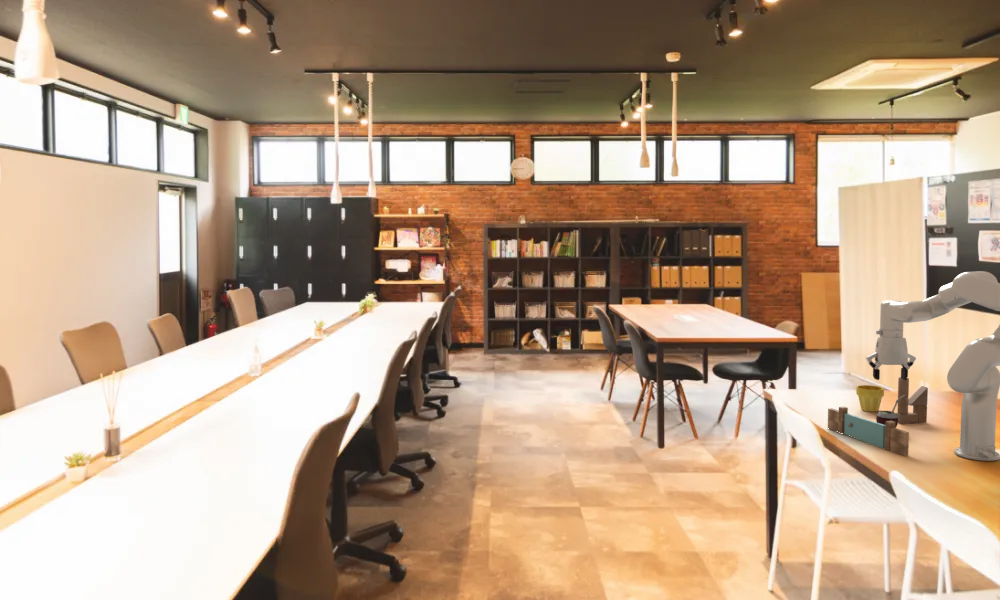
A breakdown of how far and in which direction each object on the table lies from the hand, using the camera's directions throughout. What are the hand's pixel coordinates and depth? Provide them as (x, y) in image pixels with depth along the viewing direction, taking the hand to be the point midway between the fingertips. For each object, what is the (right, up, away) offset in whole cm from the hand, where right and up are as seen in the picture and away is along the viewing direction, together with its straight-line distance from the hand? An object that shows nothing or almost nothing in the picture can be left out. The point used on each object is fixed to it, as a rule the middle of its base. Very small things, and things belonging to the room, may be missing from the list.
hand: (890, 379), depth 256 cm
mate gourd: (0, -21, +1) cm, 21 cm away
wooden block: (+17, -19, +16) cm, 30 cm away
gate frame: (-14, -21, -9) cm, 27 cm away
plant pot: (+12, -18, +36) cm, 42 cm away
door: (-15, -21, -8) cm, 27 cm away
